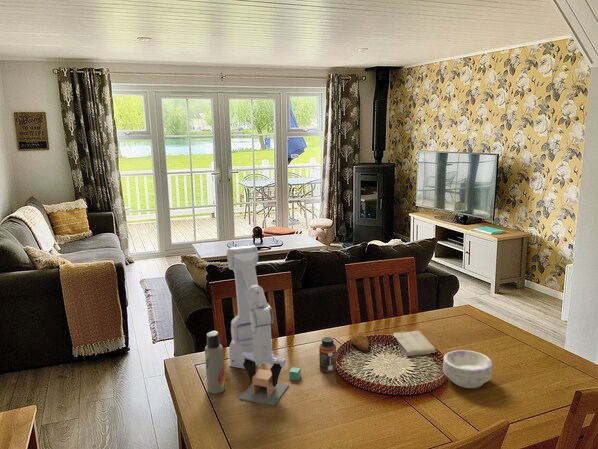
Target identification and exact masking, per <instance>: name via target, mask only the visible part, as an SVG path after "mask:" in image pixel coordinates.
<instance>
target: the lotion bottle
mask: <svg viewBox="0 0 598 449" xmlns="http://www.w3.org/2000/svg"><path fill="white" fill-rule="evenodd" d="M206 341H207V342H206V346H205V347H204V355H205V356H204V357H205V369H206V372H205V373H206V387H207V392H208V393H209V394H213V395H214V394H221V393H222V392H224V390H225V389H226V379H225V365H224V364H225V363H224V350H223V349H224V346H223V345H222V344H221V343H220V333H219V332H218V331H217V330H211V331H209V332H207V333H206Z"/></svg>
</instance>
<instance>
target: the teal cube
mask: <svg viewBox="0 0 598 449" xmlns="http://www.w3.org/2000/svg"><path fill="white" fill-rule="evenodd" d="M301 371H302V370H301V368H300V367H291V368H290V370H289V371H288V376H289V377H288V378H289V380H292V381H299V380H300V378H301V375H302V374H301V373H302V372H301Z"/></svg>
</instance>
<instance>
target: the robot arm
mask: <svg viewBox="0 0 598 449" xmlns="http://www.w3.org/2000/svg"><path fill="white" fill-rule="evenodd" d="M226 257H227V267H228V269H229V270H232V271H233V273H234V283H235V284H234V285H235V292H236V293H235V294H236V303H237V315H236V316H235V317H234V318H232V320H231V322H230V334H231V342H230V344H229V348H228V349H229V351H228V352H229V365H228V366H229V367H232V368H240V369H244V370H245V371H246V372H247V374H248V377H249V378H250V379H249V380H250V382H251V384H252V377H253V376H254V375H255V374H256V372H257V371H256V367H257V366H258V365H263V364H270V365H272V366H271V367H270V371H271V373H272V381H273V386H274V387H275V386H276V385H277V383H279V382H278V381H279V376H280V374H281V371H282V369H283V368H284V366H285V365H286V358H284V357H281V356H278V355H275V354H273V351H272V350H273V346H272V325H273V324H274V314H273V309H272V307H271V306H270V303H269V302H267V301H268V300H267V299H266V295H265V291H264V289H263V287H262V286H261V285H259V282H258V276H257V269H256V266H257V264H258V261H259V250H258V248H257V246H256V245H255V244H252V245H245V246H242V245H241V246H235V247H228V248H227V251H226Z"/></svg>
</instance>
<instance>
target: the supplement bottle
mask: <svg viewBox="0 0 598 449" xmlns="http://www.w3.org/2000/svg"><path fill="white" fill-rule="evenodd" d="M318 352H319V356H318V357H319V358H318V360H319V362H318V363H319V370H320V371H322V372H323V373H333V372H335V371H336V370H337V345H336V344H335V343H334V338H333V337H331V336H326V337H323V338H321V343H320V345H319V350H318Z"/></svg>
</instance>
